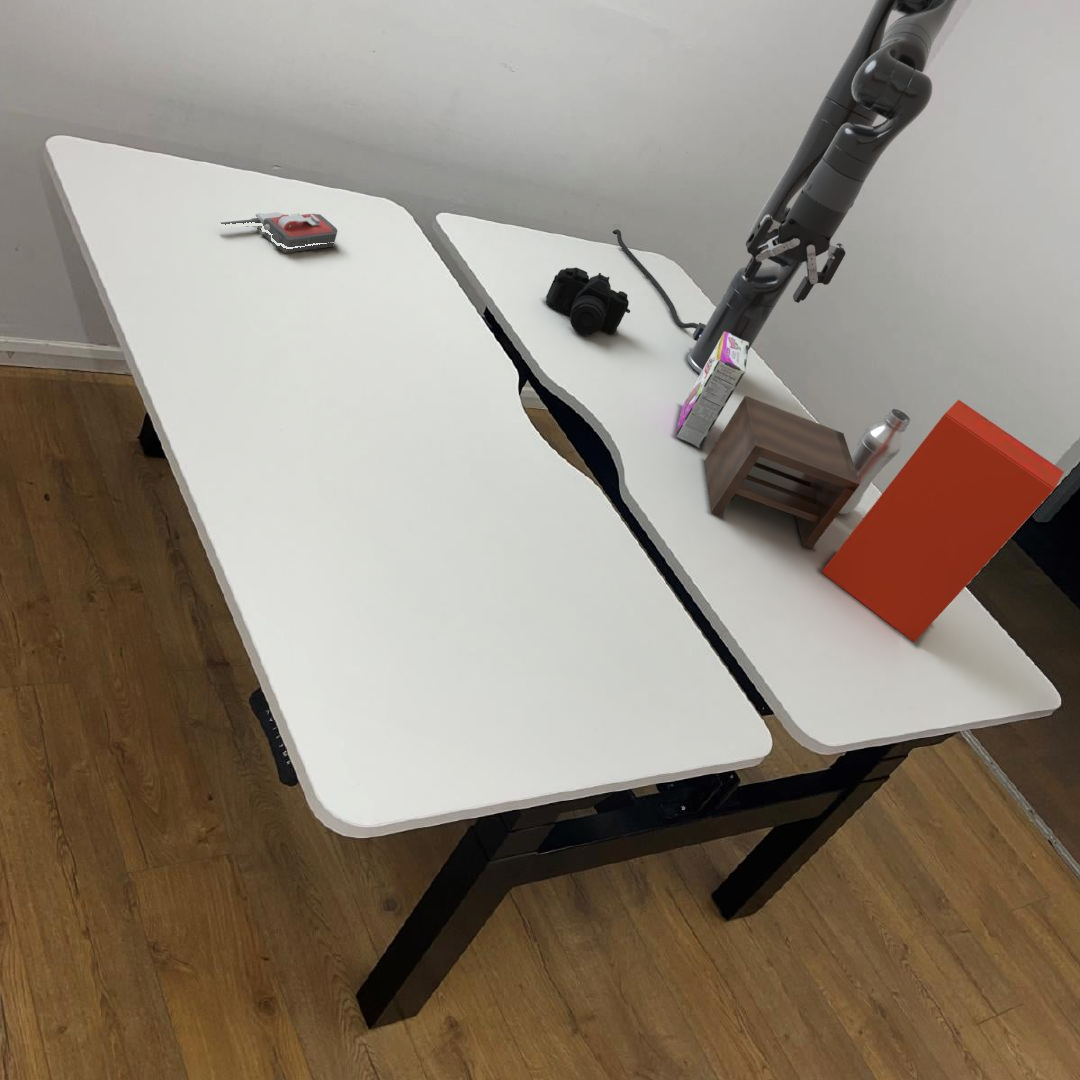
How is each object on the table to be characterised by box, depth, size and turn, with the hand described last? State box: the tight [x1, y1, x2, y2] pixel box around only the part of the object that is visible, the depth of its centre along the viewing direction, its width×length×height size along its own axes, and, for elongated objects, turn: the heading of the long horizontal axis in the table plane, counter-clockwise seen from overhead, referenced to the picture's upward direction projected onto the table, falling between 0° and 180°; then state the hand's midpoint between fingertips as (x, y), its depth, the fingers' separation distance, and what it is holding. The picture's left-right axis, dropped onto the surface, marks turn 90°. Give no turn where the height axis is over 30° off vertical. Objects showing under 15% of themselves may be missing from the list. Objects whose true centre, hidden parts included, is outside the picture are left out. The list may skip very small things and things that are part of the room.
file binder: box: [821, 399, 1065, 643], centre depth 155 cm, size 8×17×32 cm, turn 55°
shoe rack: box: [703, 395, 860, 549], centre depth 167 cm, size 14×18×14 cm
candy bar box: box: [675, 331, 749, 449], centre depth 176 cm, size 11×5×16 cm, turn 168°
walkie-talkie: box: [220, 211, 338, 254], centre depth 173 cm, size 9×4×20 cm
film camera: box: [545, 267, 631, 336], centre depth 191 cm, size 15×10×9 cm, turn 81°
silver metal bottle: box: [838, 408, 912, 515], centre depth 174 cm, size 6×7×20 cm
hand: (771, 290), depth 164 cm, fingers open, 8 cm apart
